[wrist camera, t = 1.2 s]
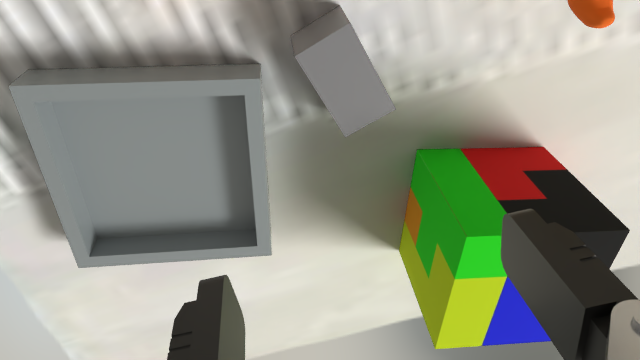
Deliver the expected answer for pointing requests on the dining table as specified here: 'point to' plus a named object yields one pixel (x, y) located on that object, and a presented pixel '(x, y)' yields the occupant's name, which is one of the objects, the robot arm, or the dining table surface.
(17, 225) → the dining table surface
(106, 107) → the slate tray
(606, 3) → the duckling
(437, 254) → the puzzle toy
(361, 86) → the charcoal brick
